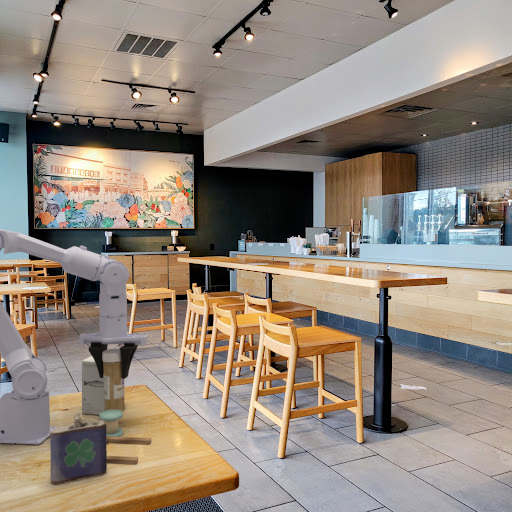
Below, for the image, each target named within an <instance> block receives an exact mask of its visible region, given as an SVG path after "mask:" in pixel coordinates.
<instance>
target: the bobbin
mask: <svg viewBox="0 0 512 512" xmlns="http://www.w3.org/2000/svg"><path fill="white" fill-rule="evenodd" d="M123 412H124V411H123ZM123 412H122V411H121V410H116V409H112V410H106V411H103V412H101V413H100V414H99V415H98V416H99V420H100V421H103V422H105V423H106V426H107V428H106V434H107V435H106V436H112V437H123V434H124V433H123V428H121V427H119V420H120V419H122V417H123V416H124V415H123Z"/></svg>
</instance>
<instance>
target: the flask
mask: <svg viewBox="0 0 512 512" xmlns="http://www.w3.org/2000/svg"><path fill="white" fill-rule="evenodd" d="M82 415H83V414H82V413H78V414H76V415H73V422H72V423H73V424H70V425H65V426H60V427H59V426H58V428H55V429H53V430H52V431H51V432H50V436H49V437H50V441H49V443H50V444H49V447H50V461H49V462H50V483H51V485H56V484H57V485H62V484H65V483H69V482H78V481H80V480H83V479H88V478H89V479H90V478H95V477H98V476H103V475H105V474H107V468H108V463H107V456H108V455H107V453H108V452H107V451H108V450H107V445H106V443H107V442H106V435H107V434H106V428H107V426H106V423H105V422H104V421H103V420H96V419H93V420H87V421H86V420H85V419H83V418H82Z"/></svg>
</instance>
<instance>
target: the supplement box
mask: <svg viewBox="0 0 512 512" xmlns="http://www.w3.org/2000/svg"><path fill="white" fill-rule="evenodd" d="M104 409H105V398H104V381H103V378H100V376H99V372H98V369H97V366H96V363H95V361H94V359H93V357H92V355H91V356H89V357H87V358H84V359H83V360H82V361H81V415H85V414H86V415H87V414H88V415H97V416H99V414H100V413H101V412H103V411H104Z"/></svg>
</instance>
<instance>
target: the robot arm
mask: <svg viewBox="0 0 512 512" xmlns="http://www.w3.org/2000/svg"><path fill="white" fill-rule="evenodd" d="M2 249H3V254H4V255H6V254H12V253H25V254H27V255H30V256H34V257H37V258H41V259H44V260H48V261H51V262H53V263H58V264H60V265H61V267H62V270H63V271H64V272H65V273H67V274H71V275H74V276H76V277H79V278H80V277H81V278H83V279H86V280H89V281H91V282H95V281H99V282H100V283H99V285H100V286H99V288H100V289H99V295H98V296H99V298H98V299H99V303H98V305H99V307H98V308H99V333H81V334H80V335H78V336H79V338H78V339H79V345H86V344H87V345H90V346H89V347H87V348H88V349H87V350H88V352H89V355H91V356H92V357H93V359H94V361H95V363H96V366H97V369H98V372H99V376H100V378H103V374H104V370H103V360H102V352H103V351H105V350H108V347H109V346H108V345H122V346H121V347H119V349H120V354H121V360H122V379H124V380H125V379H127V378H128V377H129V372H130V369H131V363H132V361H133V358H134V355H135V353H136V351H137V349H138V347H139V346H141V347H143V346H147V345H148V343H149V341H148V340H149V339H148V334H138V333H128V302H127V301H128V300H127V299H128V296H127V295H128V294H127V283H128V281H129V278H130V273H129V270H128V268H127V266H126V264H124V263H123V262H121V261H119V260H115V259H114V258H109V257H110V255H108V254H106V253H105V254H103V255H101V254H99V253H96V252H93V251H90V250H88V247H86V246H84V245H80V246H79V247H78V246H75V245H74V246H71V247H69V248H67V249H65V248H62V247H60V246H56V245H54V244H51V243H48V242H45V241H43V240H40V239H37V238H35V237H31V236H30V235H27V234H24V233H21V232H18V231H13V230H9V229H7V230H6V229H2V228H0V252H2ZM0 355H1V357H2V358H3V361H4V363H5V366H6V368H7V371H8V373H9V374H10V376H11V380H12V382H11V386H12V390H11V392H5V393H4V394H3V395H1V396H0V444H15V443H16V445H18V444H19V445H22V444H23V445H41V444H42V443H43V442H45V441H47V439H48V438H49V437H50V432H51V431H52V430H53V429H55V428H59V426H51V424H50V420H51V419H50V417H51V415H50V412H51V411H50V388H49V387H48V385H47V384H48V377H47V366H46V363H45V362H44V360H43V359H41V358H39V357H38V356H36V355H35V354H34V353H33V351H32V349H31V348H30V346H29V345H27V344H26V342H25V339H23V337H22V335H21V334H20V332H19V330H18V329H17V327H16V325H15V324H14V322H13V321H12V318H11V317H10V315H9V313H8V312H7V310H6V308H5V307H4V304H3V303H2V302H1V301H0Z"/></svg>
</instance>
